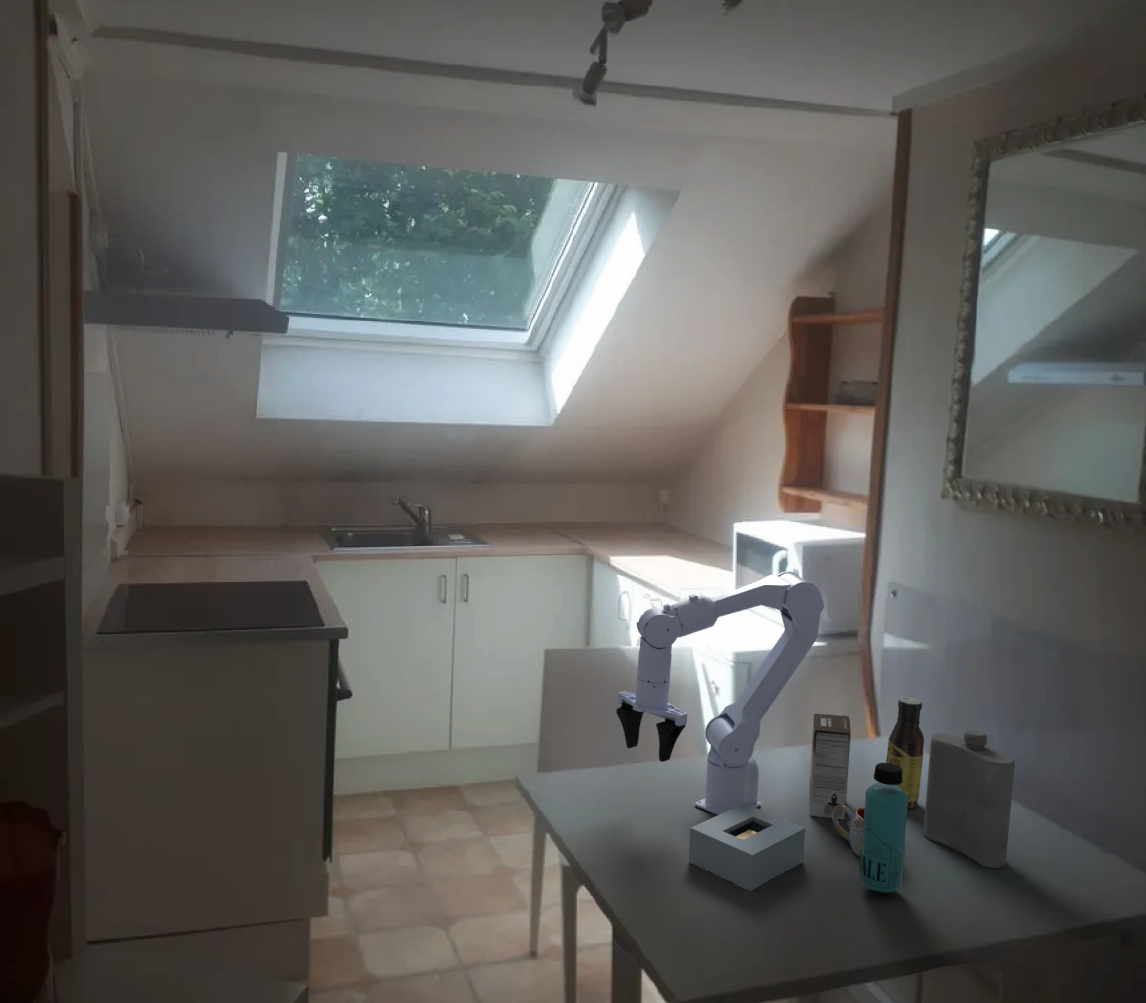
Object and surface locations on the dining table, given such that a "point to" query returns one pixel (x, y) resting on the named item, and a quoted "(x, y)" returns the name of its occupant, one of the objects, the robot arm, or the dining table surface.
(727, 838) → the grey block with hole
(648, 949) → the dining table surface
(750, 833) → the brass block
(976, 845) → the flask
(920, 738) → the sauce bottle
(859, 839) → the mug
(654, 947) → the dining table surface
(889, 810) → the beverage bottle
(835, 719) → the coffee box
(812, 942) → the dining table surface
